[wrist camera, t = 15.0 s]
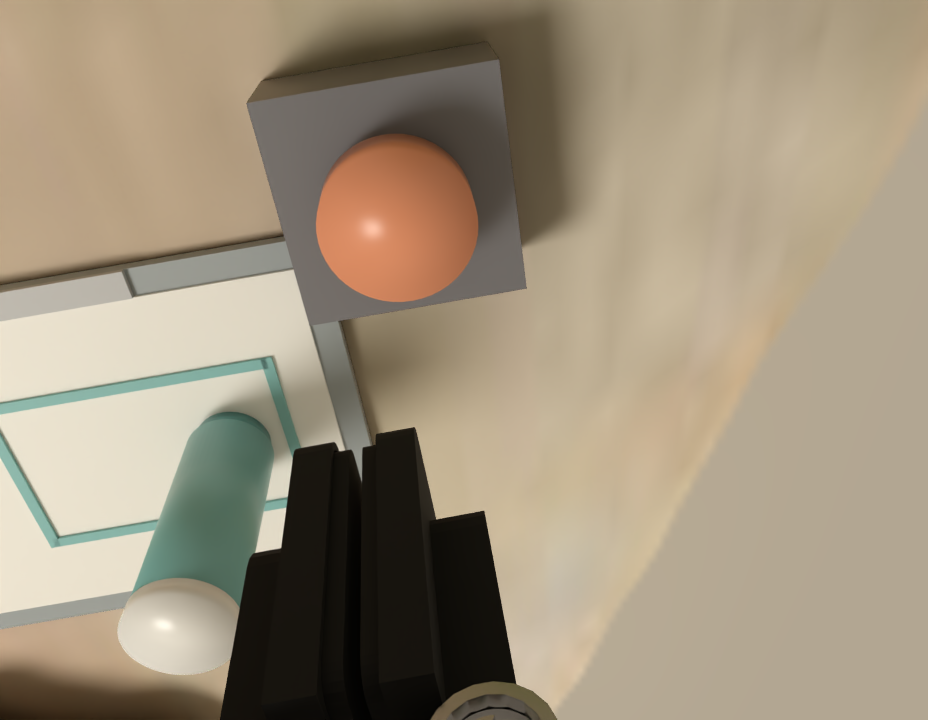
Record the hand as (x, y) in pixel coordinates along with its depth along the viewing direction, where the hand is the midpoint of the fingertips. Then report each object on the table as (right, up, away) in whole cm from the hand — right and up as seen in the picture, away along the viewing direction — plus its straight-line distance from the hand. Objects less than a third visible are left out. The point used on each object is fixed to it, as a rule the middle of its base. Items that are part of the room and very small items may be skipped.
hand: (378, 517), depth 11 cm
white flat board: (-12, -1, +19) cm, 23 cm away
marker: (-8, -1, +19) cm, 20 cm away
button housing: (-1, +8, +15) cm, 17 cm away
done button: (-1, +8, +14) cm, 16 cm away
